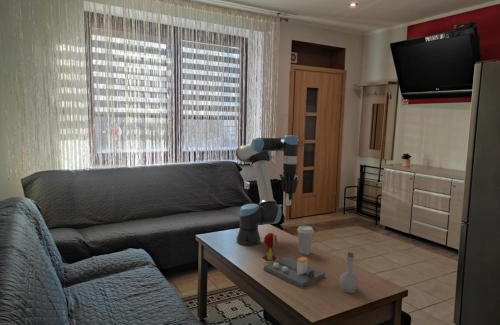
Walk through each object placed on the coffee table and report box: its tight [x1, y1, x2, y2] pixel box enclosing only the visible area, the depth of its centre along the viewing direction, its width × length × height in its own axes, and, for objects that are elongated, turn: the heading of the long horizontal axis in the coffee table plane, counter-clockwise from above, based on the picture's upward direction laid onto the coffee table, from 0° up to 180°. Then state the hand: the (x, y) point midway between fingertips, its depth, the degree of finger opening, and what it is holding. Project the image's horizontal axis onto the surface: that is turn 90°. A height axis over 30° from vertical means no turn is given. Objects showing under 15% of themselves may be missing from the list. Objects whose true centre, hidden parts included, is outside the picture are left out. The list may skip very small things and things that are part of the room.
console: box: [263, 257, 326, 289], centre depth 175 cm, size 25×18×5 cm
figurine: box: [260, 232, 279, 264], centre depth 191 cm, size 9×10×15 cm
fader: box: [296, 256, 309, 275], centre depth 171 cm, size 3×5×7 cm
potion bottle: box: [338, 251, 360, 294], centre depth 159 cm, size 9×9×18 cm
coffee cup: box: [296, 225, 315, 256], centre depth 202 cm, size 10×10×15 cm
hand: (288, 204), depth 195 cm, fingers closed
